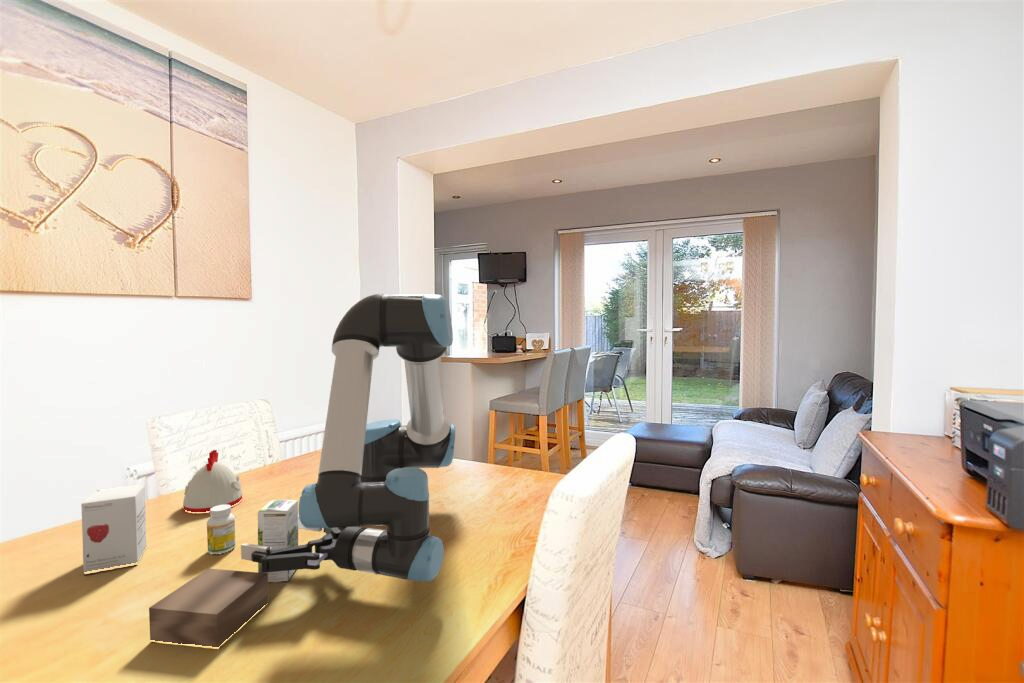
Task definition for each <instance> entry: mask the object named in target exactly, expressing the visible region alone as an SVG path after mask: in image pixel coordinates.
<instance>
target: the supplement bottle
mask: <svg viewBox="0 0 1024 683" xmlns="http://www.w3.org/2000/svg"><path fill="white" fill-rule="evenodd" d="M209 516H210V517H209V518H208V519H207V521H206V533H207V534H206V536H207V539H206V540H207V553H208V552H209V553H212V554H219V553H224V552H227V551H230V550H231V549H233V548H234V547H235V548H236V544H237V543H236V542H237V540H236V516H235V515H234V514H232V508H231V505H226V504H225V505H218V506H215V507H212V508H211V509H210V513H209ZM235 548H234V549H235ZM234 549H233V550H234ZM231 551H232V550H231ZM231 551H230V552H231ZM209 553H208V554H209ZM227 553H228V552H227ZM212 554H211V555H212ZM224 554H225V553H224Z"/></svg>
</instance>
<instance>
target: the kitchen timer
mask: <svg viewBox="0 0 1024 683" xmlns="http://www.w3.org/2000/svg"><path fill="white" fill-rule="evenodd" d="M208 455H209V457H208V458H207V463H206V464H205V465H203V466H202V467H200V468H199V469H198V470H197V471H196V472H195V474H194V475H193V476H192V478H191V479H190V480H189V481H188V483H187V485H185V487H184V499H183V503H182V504H183V505H182V507H184V509H185V510H187V511H191V512H206V511H210V509H211V508H212V507H215V506H218V505H225V504H226V505H231V506H232V505H234V504H236V503H238V502H239V501H240V500H241V499H242V500H243V492H242V484H241V480H240V475H239V474H238V475H236V474H235V473H234V472H233V471H232V470H231V469H230V468H229V467H228V466H226V465H225V464H224V463H221V462H219V461H218V460H219V452H218V450H217V449H213V450H211V451H210V452H209V453H208Z"/></svg>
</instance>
